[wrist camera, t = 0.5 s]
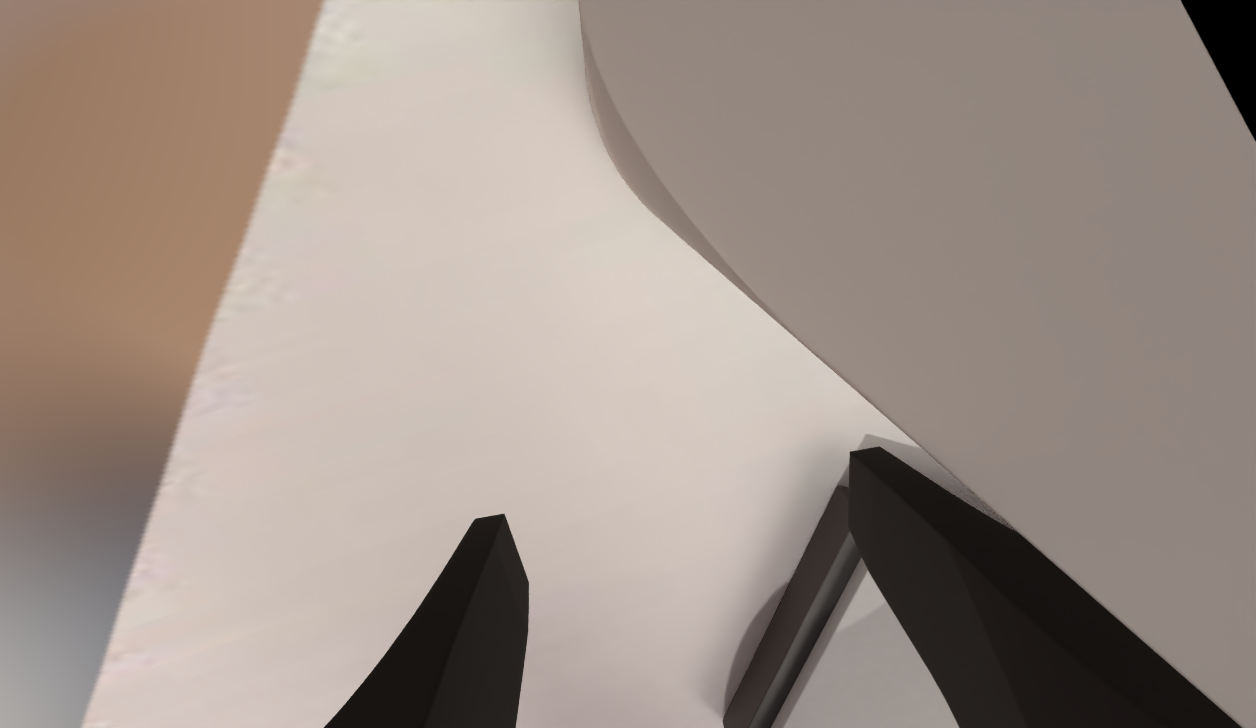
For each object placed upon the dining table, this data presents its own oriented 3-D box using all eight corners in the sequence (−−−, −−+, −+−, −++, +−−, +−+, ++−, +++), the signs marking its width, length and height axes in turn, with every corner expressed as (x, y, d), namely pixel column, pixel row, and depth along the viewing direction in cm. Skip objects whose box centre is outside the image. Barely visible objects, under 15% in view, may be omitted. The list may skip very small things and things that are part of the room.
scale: (948, 760, 30) (981, 816, 27) (721, 720, 28) (734, 776, 25) (1093, 549, 26) (1148, 592, 23) (837, 484, 24) (866, 523, 21)
